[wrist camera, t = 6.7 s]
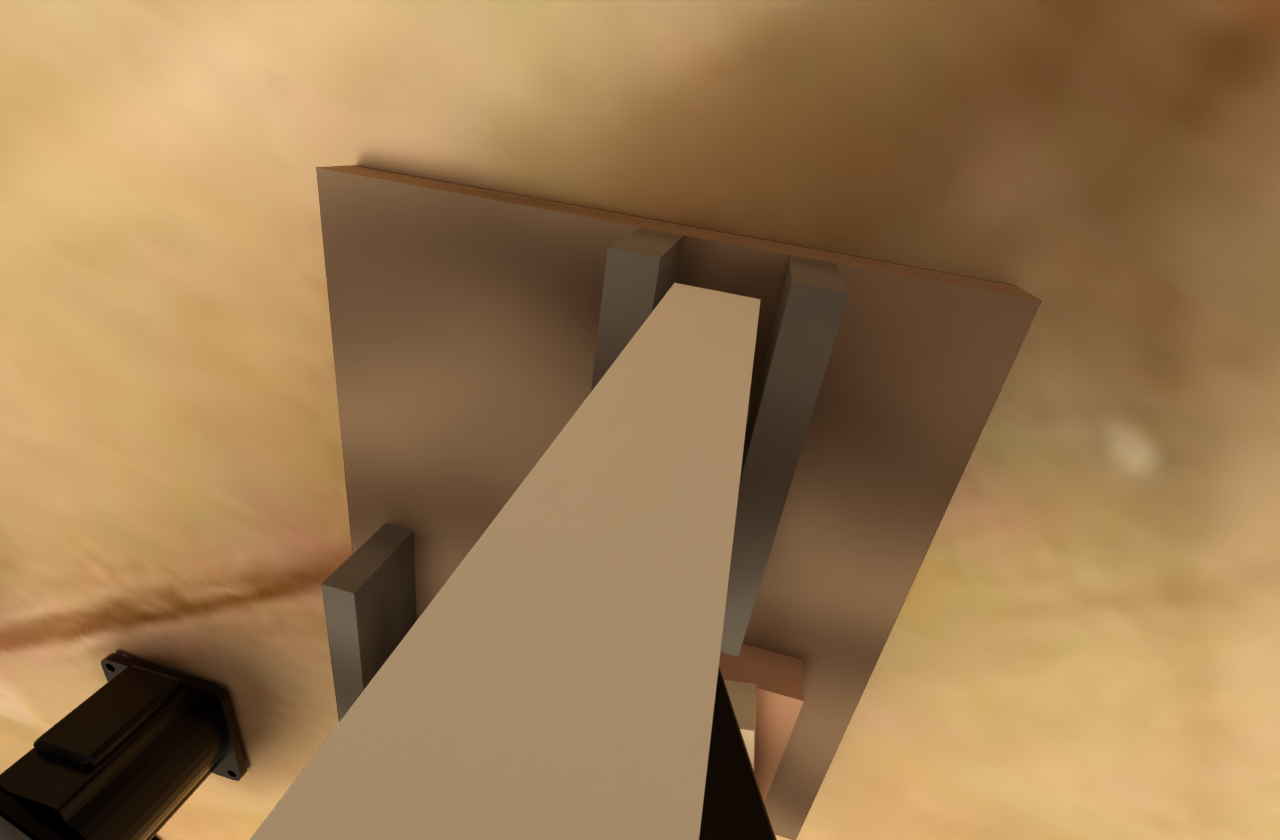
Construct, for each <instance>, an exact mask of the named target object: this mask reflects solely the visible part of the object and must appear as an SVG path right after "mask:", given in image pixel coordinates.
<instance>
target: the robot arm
mask: <svg viewBox="0 0 1280 840" xmlns="http://www.w3.org/2000/svg"><path fill="white" fill-rule="evenodd" d="M101 665H102V668H103V670H104V673H105V676H106V678H107V681H108V683H107V684H105V685H104V686H103V687H102V688H100V689H99V690H98V691H97V692H95V693H94V694H93V695H92V696H90V697H89V698H88V699H87V700H85V701H84V702H83V703H82V704H80V705H79V706H78V707H77V708H75V709H74V710H73V711H72V712H70V713H69V714H68V715H67V716H65V717H64V718H63V719H62V720H60V721H59V722H58V723H57V724H55V725H54V726H53V727H52V728H50V729H49V730H48V731H47V732H45V733H44V734H43V735H42V736H40V737H39V738H38V739H37V740H36V741H35V742H34V745H33V746H34V748H33V749H32V750H30V751H29V752H28V753H27V754H25V755H24V756H23V757H22V758H20V759H19V760H18V761H17V762H15V763H14V764H13V765H12V766H11V767H9V768H8V769H7V770H6V771H4V772H3V773H2V774H1V775H0V840H151V839H152V838H153V837H154V836H155V835H156V833H157V832H158V831H159V830H160V829H161V828H162V827H163V826H164V825H165V823H166V822H167V821H168V820H169V819H170V818H171V817H172V816H173V815H174V813H175V812H176V811H177V810H178V809H179V808H180V807H181V806H182V805H183V804H184V802H185V801H186V800H187V799H188V798H189V797H190V796H191V795H192V794H193V792H194V791H195V790H196V789H197V788H198V787H199V786H200V785H201V784H202V783H203V781H204V780H205V779H206V778H207V777H208V776H209V775H210V774H211V773H214V774H217V775H220V776H223V777H226V778H229V779H232V780H236V781H238V780H240V779H241V778H242V777H243V776H244V774H245V773H246V772H247V767H246V763H245V759H244V755H243V751H242V747H241V743H240V739H239V735H238V731H237V726H236V722H235V718H234V714H233V710H232V706H231V702H230V698H229V695H228V693H227V692H226V691H225V690H224V689H223V688H222V687H220V686H217V685H214V684H211V683H208V682H205V681H201V680H198V679H195V678H192V677H189V676H186V675H182V674H179V673H176V672H173V671H170V670H167V669H163V668H160V667H157V666H154V665H151V664H147V663H144V662H141V661H138V660H135V659H132V658H128V657H125V656H122V655H119V654H115V653H112V654H110V655H108V656H107V657H106V658H104V659H103V660H102V661H101ZM699 840H777V839H776V836H775V833H774V830H773V827H772V824H771V821H770V818H769V815H768V812H767V809H766V806H765V803H764V800H763V797H762V794H761V791H760V788H759V785H758V782H757V779H756V776H755V773H754V770H753V767H752V764H751V761H750V758H749V755H748V752H747V749H746V746H745V743H744V740H743V737H742V733H741V730H740V727H739V724H738V721H737V718H736V715H735V712H734V709H733V706H732V703H731V700H730V697H729V694H728V691H727V688H726V685H725V682H724V679H723V676H722V673H721V670H720V667H719V668H718V677H717V686H716V695H715V703H714V712H713V721H712V730H711V739H710V747H709V756H708V765H707V774H706V782H705V791H704V800H703V809H702V817H701V826H700V835H699Z"/></svg>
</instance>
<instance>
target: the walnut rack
mask: <svg viewBox="0 0 1280 840" xmlns="http://www.w3.org/2000/svg"><path fill="white" fill-rule="evenodd" d="M316 171H317V181H318V192H319V202H320V213H321V224H322V234H323V245H324V256H325V266H326V277H327V288H328V298H329V309H330V320H331V330H332V341H333V351H334V362H335V373H336V383H337V394H338V405H339V415H340V426H341V437H342V447H343V458H344V469H345V479H346V490H347V500H348V511H349V522H350V532H351V543H352V554H353V555H351V556H350V557H349V558H348V559H347V560H346V561H345V562H344V563H343V564H342V565H341V566H340V567H339V568H338V569H337V570H336V571H335V572H334V573H333V574H332V575H331V576H330V577H329V578H328V579H326V580H325V581H324V582H323V583H322V592H323V600H324V608H325V616H326V624H327V631H328V639H329V647H330V655H331V663H332V671H333V679H334V686H335V694H336V702H337V710H338V718H339V722H340V721H341V719H342V718H343V717H344V716H345V714H346V713H347V712H348V710H349V709H350V708H351V706H352V705H353V704H354V702H355V701H356V700H357V698H358V697H359V696H360V695H361V693H362V692H363V691H364V689H365V688H366V687H367V685H368V684H369V683H370V681H371V680H372V679H373V678H374V676H375V675H376V674H377V672H378V671H379V670H380V668H381V667H382V666H383V664H384V663H385V662H386V660H387V659H388V658H389V657H390V655H391V654H392V653H393V651H394V650H395V649H396V647H397V646H398V645H399V643H400V642H401V641H402V639H403V638H404V637H405V636H406V634H407V633H408V632H409V630H410V629H411V628H412V626H413V625H414V624H415V622H416V621H417V620H418V618H419V617H420V616H421V615H422V613H423V612H424V611H425V609H426V608H427V607H428V605H429V604H430V603H431V601H432V600H433V599H434V598H435V596H436V595H437V594H438V592H439V591H440V590H441V588H442V587H443V586H444V584H445V583H446V582H447V580H448V579H449V578H450V577H451V575H452V574H453V573H454V571H455V570H456V569H457V567H458V566H459V565H460V563H461V562H462V561H463V559H464V558H465V557H466V556H467V554H468V553H469V552H470V550H471V549H472V548H473V546H474V545H475V544H476V542H477V541H478V540H479V538H480V537H481V536H482V535H483V533H484V532H485V531H486V529H487V528H488V527H489V525H490V524H491V523H492V521H493V520H494V519H495V518H496V516H497V515H498V514H499V512H500V511H501V510H502V508H503V507H504V506H505V504H506V503H507V502H508V500H509V499H510V498H511V497H512V495H513V494H514V493H515V491H516V490H517V489H518V487H519V486H520V485H521V483H522V482H523V481H524V479H525V478H526V477H527V476H528V474H529V473H530V472H531V470H532V469H533V468H534V466H535V465H536V464H537V462H538V461H539V460H540V458H541V457H542V456H543V455H544V453H545V452H546V451H547V449H548V448H549V447H550V445H551V444H552V443H553V441H554V440H555V439H556V438H557V436H558V435H559V434H560V432H561V431H562V430H563V428H564V427H565V426H566V424H567V423H568V422H569V420H570V419H571V418H572V417H573V415H574V414H575V413H576V411H577V410H578V409H579V407H580V406H581V405H582V403H583V402H584V401H585V399H586V398H587V397H588V396H589V394H590V393H591V392H592V390H593V389H594V388H595V386H596V385H597V384H598V382H599V381H600V380H601V378H602V377H603V376H604V375H605V373H606V372H607V371H608V369H609V368H610V367H611V365H612V364H613V363H614V361H615V360H616V359H617V358H618V356H619V355H620V354H621V352H622V351H623V350H624V348H625V347H626V346H627V344H628V343H629V342H630V340H631V339H632V338H633V337H634V335H635V334H636V333H637V331H638V330H639V329H640V327H641V326H642V325H643V323H644V322H645V321H646V319H647V318H648V317H649V316H650V314H651V313H652V312H653V310H654V309H655V308H656V306H657V305H658V304H659V302H660V301H661V300H662V298H663V297H664V296H665V295H666V293H667V292H668V291H669V289H670V288H671V287H672V285H673V284H674V283H679V284H684V285H689V286H694V287H699V288H704V289H710V290H715V291H720V292H725V293H730V294H735V295H741V296H746V297H751V298H756V299H761V300H760V309H759V317H758V326H757V335H756V344H755V352H754V361H753V370H752V379H751V388H750V396H749V405H748V414H747V423H746V431H745V440H744V449H743V458H742V466H741V475H740V484H739V493H738V502H737V510H736V519H735V528H734V537H733V545H732V554H731V563H730V572H729V581H728V589H727V598H726V607H725V616H724V624H723V633H722V642H721V651H720V652H722V653H726V654H730V655H733V656H737V657H738V656H739V653H740V650H741V646H742V644H746V645H749V646H753V647H757V648H761V649H764V650H768V651H772V652H775V653H779V654H783V655H786V656H790V657H794V658H798V659H801V660H802V669H803V693H804V702H803V705H802V707H801V710H800V712H799V715H798V717H797V720H796V722H795V725H794V727H793V730H792V733H791V735H790V738H789V740H788V743H787V745H786V748H785V750H784V753H783V755H782V758H781V761H780V763H779V766H778V768H777V771H776V773H775V776H774V778H773V781H772V783H771V786H770V788H769V791H768V794H767V796H766V799H765V801H764V803H765V806H766V809H767V812H768V815H769V818H770V821H771V824H772V827H773V830H774V833H775V834H776V835H779V836H782V837H785V838H788V839H792V840H796V839H797V836H798V834H799V832H800V830H801V828H802V825H803V823H804V821H805V819H806V817H807V814H808V812H809V810H810V808H811V806H812V803H813V801H814V799H815V797H816V795H817V792H818V790H819V788H820V786H821V784H822V781H823V779H824V777H825V775H826V773H827V770H828V768H829V766H830V764H831V762H832V759H833V757H834V755H835V753H836V751H837V749H838V746H839V744H840V742H841V740H842V738H843V735H844V733H845V731H846V729H847V727H848V724H849V722H850V720H851V718H852V716H853V713H854V711H855V709H856V707H857V705H858V702H859V700H860V698H861V696H862V694H863V691H864V689H865V687H866V685H867V683H868V680H869V678H870V676H871V674H872V672H873V669H874V667H875V665H876V663H877V661H878V658H879V656H880V654H881V652H882V650H883V647H884V645H885V643H886V641H887V639H888V636H889V634H890V632H891V630H892V628H893V626H894V623H895V621H896V619H897V617H898V615H899V612H900V610H901V608H902V606H903V604H904V601H905V599H906V597H907V595H908V593H909V590H910V588H911V586H912V584H913V582H914V579H915V577H916V575H917V573H918V571H919V568H920V566H921V564H922V562H923V560H924V557H925V555H926V553H927V551H928V549H929V546H930V544H931V542H932V540H933V538H934V535H935V533H936V531H937V529H938V527H939V524H940V522H941V520H942V518H943V516H944V513H945V511H946V509H947V507H948V505H949V503H950V500H951V498H952V496H953V494H954V492H955V489H956V487H957V485H958V483H959V481H960V478H961V476H962V474H963V472H964V470H965V467H966V465H967V463H968V461H969V459H970V456H971V454H972V452H973V450H974V448H975V445H976V443H977V441H978V439H979V437H980V434H981V432H982V430H983V428H984V426H985V423H986V421H987V419H988V417H989V415H990V412H991V410H992V408H993V406H994V404H995V401H996V399H997V397H998V395H999V393H1000V390H1001V388H1002V386H1003V384H1004V382H1005V380H1006V377H1007V375H1008V373H1009V371H1010V369H1011V366H1012V364H1013V362H1014V360H1015V358H1016V355H1017V353H1018V351H1019V349H1020V347H1021V344H1022V342H1023V340H1024V338H1025V336H1026V333H1027V331H1028V329H1029V327H1030V325H1031V322H1032V320H1033V318H1034V316H1035V314H1036V311H1037V309H1038V307H1039V305H1040V303H1041V300H1039V299H1037V298H1036V297H1034V296H1032V295H1031V294H1029V293H1027V292H1026V291H1024V290H1022V289H1021V288H1019V287H1017V286H1015V285H1009V284H1004V283H998V282H993V281H987V280H982V279H976V278H971V277H965V276H960V275H954V274H949V273H943V272H938V271H932V270H927V269H921V268H916V267H910V266H905V265H899V264H894V263H888V262H883V261H877V260H872V259H866V258H861V257H855V256H850V255H844V254H839V253H833V252H828V251H822V250H817V249H811V248H806V247H800V246H795V245H789V244H784V243H778V242H773V241H767V240H762V239H756V238H751V237H745V236H740V235H734V234H729V233H723V232H718V231H712V230H707V229H701V228H696V227H690V226H685V225H679V224H674V223H668V222H663V221H657V220H652V219H646V218H641V217H635V216H630V215H624V214H619V213H613V212H608V211H602V210H597V209H592V208H586V207H581V206H575V205H570V204H564V203H559V202H553V201H548V200H542V199H537V198H531V197H526V196H520V195H515V194H509V193H504V192H498V191H493V190H487V189H482V188H476V187H471V186H465V185H460V184H454V183H449V182H443V181H438V180H432V179H427V178H421V177H416V176H410V175H405V174H399V173H394V172H388V171H383V170H377V169H372V168H366V167H361V166H355V165H353V166H334V167H316Z"/></svg>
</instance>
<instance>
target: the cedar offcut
mask: <svg viewBox="0 0 1280 840" xmlns="http://www.w3.org/2000/svg"><path fill="white" fill-rule="evenodd" d="M719 667H720V670H721V673H722V676H723V679H724V680H729V681H737V682H745V683H753V684H756V721H755V761H754V773H755V776H756V779H757V782H758V785H759V788H760V791H761V794H762V797H763V800H764V801H765V799H766V796H767V794H768V791H769V788H770V786H771V783H772V781H773V778H774V776H775V773H776V771H777V768H778V766H779V763H780V761H781V758H782V755H783V753H784V750H785V748H786V745H787V743H788V740H789V738H790V735H791V733H792V730H793V727H794V725H795V722H796V720H797V717H798V715H799V712H800V710H801V707H802V705H803V702H804V693H803V669H802V660H801V659H798V658H794V657H790V656H786V655H783V654H779V653H775V652H772V651H768V650H764V649H761V648H757V647H753V646H749V645H746V644H742V646H741V650H740V653H739V656H738V657H737V656H733V655H730V654H726V653H722V652H720V660H719Z"/></svg>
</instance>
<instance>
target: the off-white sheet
mask: <svg viewBox="0 0 1280 840" xmlns="http://www.w3.org/2000/svg"><path fill="white" fill-rule="evenodd" d="M760 300H761V299H756V298H751V297H746V296H741V295H735V294H730V293H725V292H720V291H715V290H710V289H704V288H699V287H694V286H689V285H684V284H679V283H674V284H673V285H672V287H671V288H670V289H669V291H668V292H667V293H666V295H665V296H664V297H663V298H662V300H661V301H660V302H659V304H658V305H657V306H656V308H655V309H654V310H653V312H652V313H651V314H650V316H649V317H648V318H647V319H646V321H645V322H644V323H643V325H642V326H641V327H640V329H639V330H638V331H637V333H636V334H635V335H634V337H633V338H632V339H631V340H630V342H629V343H628V344H627V346H626V347H625V348H624V350H623V351H622V352H621V354H620V355H619V356H618V358H617V359H616V360H615V361H614V363H613V364H612V365H611V367H610V368H609V369H608V371H607V372H606V373H605V375H604V376H603V377H602V378H601V380H600V381H599V382H598V384H597V385H596V386H595V388H594V389H593V390H592V392H591V393H590V394H589V396H588V397H587V398H586V399H585V401H584V402H583V403H582V405H581V406H580V407H579V409H578V410H577V411H576V413H575V414H574V415H573V417H572V418H571V419H570V420H569V422H568V423H567V424H566V426H565V427H564V428H563V430H562V431H561V432H560V434H559V435H558V436H557V438H556V439H555V440H554V441H553V443H552V444H551V445H550V447H549V448H548V449H547V451H546V452H545V453H544V455H543V456H542V457H541V458H540V460H539V461H538V462H537V464H536V465H535V466H534V468H533V469H532V470H531V472H530V473H529V474H528V476H527V477H526V478H525V479H524V481H523V482H522V483H521V485H520V486H519V487H518V489H517V490H516V491H515V493H514V494H513V495H512V497H511V498H510V499H509V500H508V502H507V503H506V504H505V506H504V507H503V508H502V510H501V511H500V512H499V514H498V515H497V516H496V518H495V519H494V520H493V521H492V523H491V524H490V525H489V527H488V528H487V529H486V531H485V532H484V533H483V535H482V536H481V537H480V538H479V540H478V541H477V542H476V544H475V545H474V546H473V548H472V549H471V550H470V552H469V553H468V554H467V556H466V557H465V558H464V559H463V561H462V562H461V563H460V565H459V566H458V567H457V569H456V570H455V571H454V573H453V574H452V575H451V577H450V578H449V579H448V580H447V582H446V583H445V584H444V586H443V587H442V588H441V590H440V591H439V592H438V594H437V595H436V596H435V598H434V599H433V600H432V601H431V603H430V604H429V605H428V607H427V608H426V609H425V611H424V612H423V613H422V615H421V616H420V617H419V618H418V620H417V621H416V622H415V624H414V625H413V626H412V628H411V629H410V630H409V632H408V633H407V634H406V636H405V637H404V638H403V639H402V641H401V642H400V643H399V645H398V646H397V647H396V649H395V650H394V651H393V653H392V654H391V655H390V657H389V658H388V659H387V660H386V662H385V663H384V664H383V666H382V667H381V668H380V670H379V671H378V672H377V674H376V675H375V676H374V678H373V679H372V680H371V681H370V683H369V684H368V685H367V687H366V688H365V689H364V691H363V692H362V693H361V695H360V696H359V697H358V698H357V700H356V701H355V702H354V704H353V705H352V706H351V708H350V709H349V710H348V712H347V713H346V714H345V716H344V717H343V718H342V719H341V721H340V722H339V723H338V725H337V726H336V727H335V729H334V730H333V731H332V733H331V734H330V735H329V737H328V738H327V739H326V740H325V742H324V743H323V744H322V746H321V747H320V748H319V750H318V751H317V752H316V754H315V755H314V756H313V758H312V759H311V760H310V761H309V763H308V764H307V765H306V767H305V768H304V769H303V771H302V772H301V773H300V775H299V776H298V777H297V778H296V780H295V781H294V782H293V784H292V785H291V786H290V788H289V789H288V790H287V792H286V793H285V794H284V796H283V797H282V798H281V799H280V801H279V802H278V803H277V805H276V806H275V807H274V809H273V810H272V811H271V813H270V814H269V815H268V817H267V818H266V819H265V820H264V822H263V823H262V824H261V826H260V827H259V828H258V830H257V831H256V832H255V834H254V835H253V836H252V838H251V839H250V840H699V835H700V826H701V817H702V809H703V800H704V791H705V782H706V774H707V765H708V756H709V747H710V739H711V730H712V721H713V712H714V703H715V695H716V686H717V677H718V668H719V660H720V651H721V642H722V633H723V624H724V616H725V607H726V598H727V589H728V581H729V572H730V563H731V554H732V545H733V537H734V528H735V519H736V510H737V502H738V493H739V484H740V475H741V466H742V458H743V449H744V440H745V431H746V423H747V414H748V405H749V396H750V388H751V379H752V370H753V361H754V352H755V344H756V335H757V326H758V317H759V309H760Z"/></svg>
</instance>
